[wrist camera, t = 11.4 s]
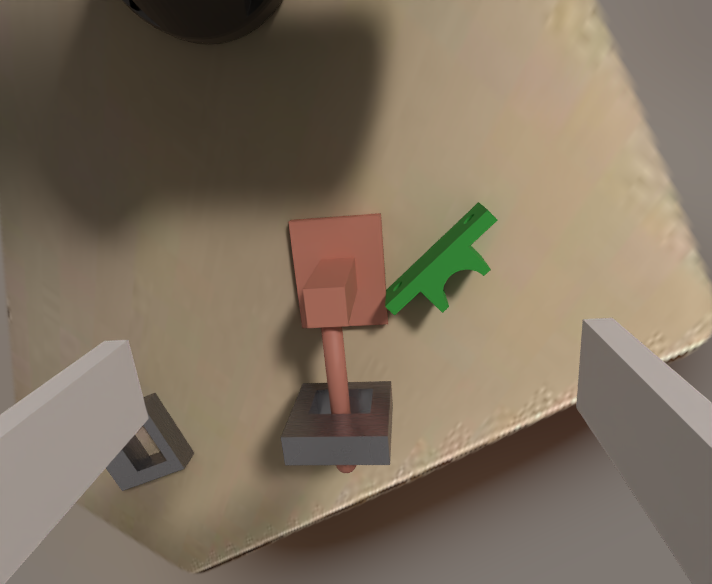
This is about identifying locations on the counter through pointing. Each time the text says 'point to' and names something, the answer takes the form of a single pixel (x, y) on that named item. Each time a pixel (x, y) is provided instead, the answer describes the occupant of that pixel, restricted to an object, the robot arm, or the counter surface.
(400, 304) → the pipe clamp
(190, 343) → the counter surface
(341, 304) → the hook
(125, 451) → the link
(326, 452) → the link
